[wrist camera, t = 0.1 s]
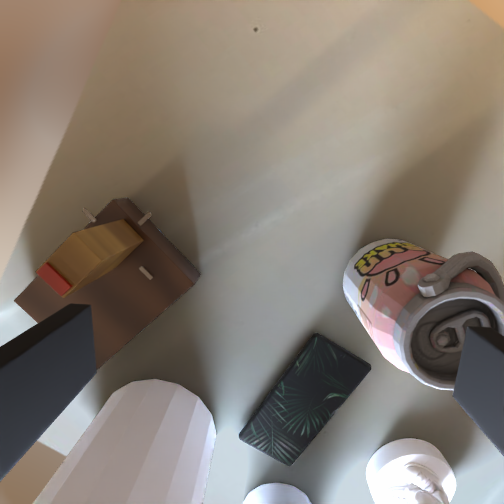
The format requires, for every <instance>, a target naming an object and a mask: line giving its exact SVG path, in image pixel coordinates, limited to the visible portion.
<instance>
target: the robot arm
mask: <svg viewBox="0 0 504 504" xmlns="http://www.w3.org/2000/svg"><path fill="white" fill-rule="evenodd" d="M96 373H97V369H96V358H95V346H94V334H93V322H92V310H91V305H90V304H72V303H70V304H68V305H67V306H65V307H64V308H62V309H60V310H59V311H57V312H56V313H54V314H52V315H51V316H49V317H47V318H46V319H44V320H43V321H41V322H39V323H38V324H36V325H35V326H33V327H31V328H30V329H28V330H27V331H25V332H23V333H22V334H20V335H19V336H17V337H15V338H14V339H12V340H11V341H9V342H7V343H6V344H4V345H3V346H1V347H0V481H1V480H2V479H3V478H4V477H5V475H6V474H7V473H8V472H9V471H10V470H11V469H12V468H13V467H14V466H15V464H16V463H17V462H18V461H19V460H20V459H21V458H22V457H23V455H24V454H25V453H26V452H27V451H28V450H29V449H30V447H31V446H32V445H33V444H34V443H35V442H36V441H37V440H38V439H39V437H40V436H41V435H42V434H43V433H44V432H45V431H46V429H47V428H48V427H49V426H50V425H51V424H52V423H53V422H54V420H55V419H56V418H57V417H58V416H59V415H60V414H61V413H62V411H63V410H64V409H65V408H66V407H67V406H68V405H69V404H70V402H71V401H72V400H73V399H74V398H75V397H76V396H77V395H78V393H79V392H80V391H81V390H82V389H83V388H84V387H85V386H86V384H87V383H88V382H89V381H90V380H91V379H92V378H93V376H94V375H95V374H96ZM453 397H454V399H455V400H456V401H457V402H458V403H459V404H460V406H461V407H462V408H463V409H464V410H465V412H466V413H467V414H468V415H469V416H470V417H471V419H472V420H473V421H474V422H475V423H476V424H477V426H478V427H479V428H480V429H481V430H482V431H483V433H484V434H485V435H486V436H487V437H488V438H489V440H490V441H491V442H492V443H493V444H494V445H495V447H496V448H497V449H498V450H499V451H500V452H501V454H502V455H503V456H504V336H503V335H501V334H500V333H498V332H497V331H495V330H494V329H492V328H491V327H475V326H467V331H466V335H465V340H464V345H463V349H462V354H461V359H460V363H459V368H458V373H457V377H456V382H455V386H454V391H453Z"/></svg>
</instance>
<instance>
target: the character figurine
mask: <svg viewBox="0 0 504 504" xmlns="http://www.w3.org/2000/svg"><path fill="white" fill-rule="evenodd" d="M366 476H367V481H368V484H369V487H370V490H371V493H372V496H373V499H374V501H375V503H376V504H449V502H450V501H451V499H452V497H453V495H454V493H455V488H456V480H455V475H454V473H453V471H452V469H451V468H450V466H449V464H448V463H447V461H446V460H445V458H444V457H443V455H442V454H441V452H440V451H439V450H438V449H437V448H436V447H435V446H434V445H432V444H430V443H429V442H426V441H423V440H420V439H413V438H408V439H400V440H395V441H393V442H390V443H388V444H386V445H384V446H382V447H381V448H380V449H378V450H377V451H376V452H375V453H374V454H373V456H372V457H371V459H370V460H369V462H368V466H367V470H366Z"/></svg>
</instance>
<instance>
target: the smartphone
mask: <svg viewBox="0 0 504 504" xmlns="http://www.w3.org/2000/svg"><path fill="white" fill-rule="evenodd" d="M370 370H371V365H370V364H369V363H367V362H366V361H364V360H362V359H361V358H359V357H357V356H356V355H354V354H352V353H350V352H349V351H347V350H345V349H344V348H342V347H340V346H339V345H337V344H335V343H334V342H332V341H330V340H328V339H327V338H325V337H323V336H322V335H320V334H318V333H314V334H313V335H312V337H311V338H310V339H309V341H308V342H307V343H306V345H305V346H304V347H303V349H302V350H301V351H300V353H299V354H298V355H297V357H296V358H295V359H294V361H293V362H292V363H291V365H290V366H289V367H288V369H287V370H286V371H285V373H284V374H283V376H282V377H281V378H280V380H279V381H278V382H277V384H276V385H275V386H274V388H273V389H272V390H271V392H270V393H269V394H268V396H267V397H266V398H265V400H264V401H263V402H262V404H261V405H260V406H259V408H258V409H257V411H256V412H255V413H254V415H253V416H252V417H251V419H250V420H249V421H248V423H247V424H246V425H245V427H244V428H243V429H242V431H241V432H240V434H239V439H240V440H242V441H243V442H245V443H247V444H249V445H251V446H252V447H254V448H256V449H258V450H260V451H262V452H263V453H265V454H267V455H269V456H271V457H273V458H274V459H276V460H278V461H280V462H282V463H284V464H285V465H287V466H291V465H292V464H293V463H294V462H295V461H296V459H297V458H298V457H299V456H300V455H301V453H302V452H303V451H304V450H305V449H306V447H307V446H308V445H309V444H310V443H311V441H312V440H313V439H314V438H315V437H316V435H317V434H318V433H319V432H320V431H321V429H322V428H323V427H324V426H325V424H326V423H327V422H328V421H329V420H330V418H331V417H332V416H333V415H334V414H335V412H336V411H337V410H338V409H339V408H340V406H341V405H342V404H343V403H344V402H345V400H346V399H347V398H348V397H349V396H350V394H351V393H352V392H353V391H354V390H355V388H356V387H357V386H358V385H359V384H360V382H361V381H362V380H363V379H364V378H365V376H366V375H367V374H368V373H369V371H370Z"/></svg>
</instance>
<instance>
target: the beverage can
mask: <svg viewBox="0 0 504 504" xmlns="http://www.w3.org/2000/svg"><path fill="white" fill-rule="evenodd" d="M469 268H471V269H473V270H475V271H476V272H477V273H476V272H475V271H473V270H471V269H469ZM343 289H344V294H345V298H346V300H347V301H348V303H349V304H350V306H351V308H352V309H353V311H354V312H355V314H356V315H357V317H358V318H359V320H360V321H361V323H362V324H363V326H364V327H365V329H366V330H367V332H368V333H369V335H370V336H371V338H372V339H373V341H374V342H375V344H376V345H377V347H378V348H379V350H380V352H381V353H382V355H383V356H384V357H385V358H386V359H387V360H388V361H390V362H391V363H392V364H394V365H395V366H396V367H397V368H399V369H400V370H403V371H406V372H409V373H410V374H411V375H413V376H414V377H415V378H416V379H418V380H419V381H420V382H421V383H423V384H425V385H428V386H431V387H433V388H436V389H442V390H454V386H455V382H456V377H457V373H458V368H459V363H460V359H461V354H462V349H463V345H464V340H465V335H466V331H467V326H475V327H491V328H492V329H494V330H495V331H497V332H498V333H500V334H501V335H503V336H504V285H503V282H502V279H501V276H500V275H499V273H498V271H497V270H496V268H495V266H494V265H493V263H492V262H491V261H490V260H488V259H486V258H485V257H483V256H481V255H480V254H478V253H475V252H466V253H459V254H456V255H454V256H452V257H451V258H450V259H449V260H448V259H446V258H444V257H441V256H439V255H437V254H435V253H432V252H430V251H428V250H425V249H423V248H421V247H419V246H416V245H414V244H411V243H409V242H406V241H404V240H401V239H383V240H379V241H375V242H372V243H370V244H368V245H367V246H365V247H363V248H361V249H360V250H359V251H358V252H357V253H356V254H355V255H354V256H353V257H352V258H351V259H350V261H349V263H348V265H347V268H346V270H345V272H344V278H343Z"/></svg>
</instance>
